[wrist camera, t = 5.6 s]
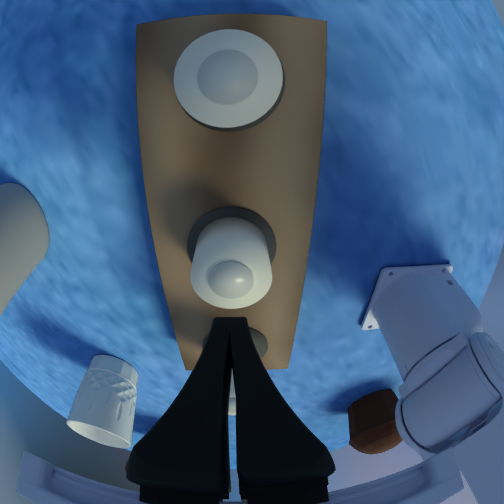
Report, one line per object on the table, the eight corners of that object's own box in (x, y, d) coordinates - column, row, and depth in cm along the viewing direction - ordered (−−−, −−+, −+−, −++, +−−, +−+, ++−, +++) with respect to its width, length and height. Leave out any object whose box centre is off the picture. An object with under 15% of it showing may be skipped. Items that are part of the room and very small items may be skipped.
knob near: (274, 42, 11) (284, 29, 8) (272, 121, 13) (281, 128, 10) (186, 44, 10) (172, 32, 8) (187, 122, 13) (174, 131, 10)
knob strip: (312, 31, 13) (327, 20, 10) (283, 345, 28) (288, 369, 25) (152, 33, 12) (135, 24, 9) (188, 346, 27) (185, 371, 25)
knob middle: (268, 216, 16) (275, 245, 13) (265, 276, 19) (270, 310, 16) (193, 218, 16) (184, 247, 13) (199, 277, 18) (194, 311, 16)
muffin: (375, 413, 44) (387, 454, 35) (329, 418, 42) (340, 465, 33) (413, 381, 38) (431, 428, 29) (366, 385, 35) (383, 441, 27)
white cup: (77, 350, 28) (53, 415, 20) (126, 350, 28) (106, 427, 19) (106, 383, 32) (91, 442, 24) (152, 385, 32) (142, 451, 24)
